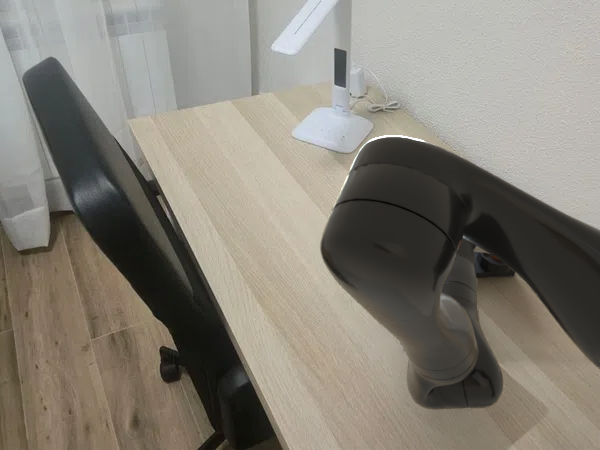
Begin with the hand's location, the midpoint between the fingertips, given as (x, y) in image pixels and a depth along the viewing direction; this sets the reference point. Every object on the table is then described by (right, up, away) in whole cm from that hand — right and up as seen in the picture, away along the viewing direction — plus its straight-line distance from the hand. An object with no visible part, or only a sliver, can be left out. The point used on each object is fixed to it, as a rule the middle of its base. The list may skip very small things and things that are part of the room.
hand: (443, 202), depth 88 cm
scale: (+2, -8, +4) cm, 9 cm away
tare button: (+8, -8, 0) cm, 12 cm away
